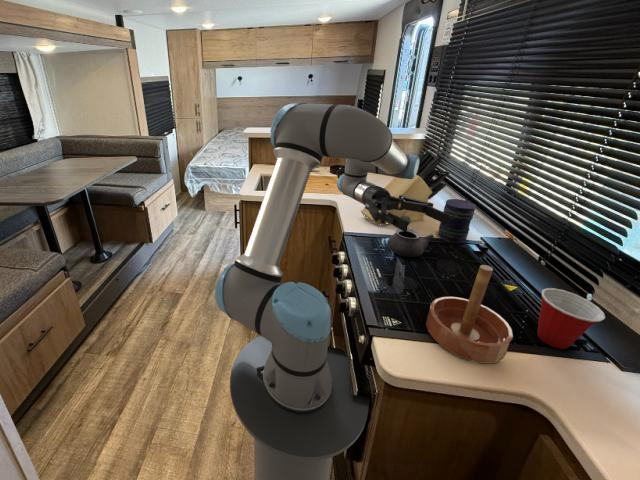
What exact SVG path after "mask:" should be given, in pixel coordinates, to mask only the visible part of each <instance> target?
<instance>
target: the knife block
mask: <svg viewBox="0 0 640 480" xmlns="http://www.w3.org/2000/svg"><path fill="white" fill-rule="evenodd" d="M418 157H419V167H418V171H417V173H416V176H415V177H414V178H413V179H401V178H397V177H393V178H392V179H391V180H390V181H389V182H388V183H387V184H386V186H384V187H383V188H384V189H386V190H388V191H389V193H390V195H391V196H394V197H396V198H399V196H400V195H402V196H405V197H408V198H412V199H416V200H421V201H425V202H429V200H431V199H432V198H434V197H435V196H437V195H438V193H440V192H441V191H442V190H443V189H444V188H446V187H447V183H444V182H443V181H444V180H445V179H446V177H448V176H449V175H450V174H451V172H449V171H448V170H446V171H444V172H442V170H440V169H436V167H437V166H438V165H439V164H440V163H441V162H442V158H440V157H439V156H437V157H435V155H434V154H432V151H431V150H430V149H427V150H425V151H424V152H422V153H421V154H419V156H418ZM437 173H439V174H438V176H437V177H436V178H434V176H436V174H437ZM400 206H401V205H400V204H399V207H400ZM379 212H380V210H379ZM389 212H390V213H392V214H394V215H396V216H398V217H401V216H403V215H406V216H409V217H410V222H414V221H423V220H424V217H425V213H421V212H415V211H410V210H404V209H403V210H395V209H392V210H387V215H388V213H389ZM360 213H361V214H362V216H364V215H365V216H364V217H366V218H367V217H368V218H369V219H368V218H367V219H368V220H369V221H371V220H372V221H371V222H372V223H374V222H375V223H374V224H375V225H377V224H381V225H380V226H386V225H391V224H390V223H388V222H386V221H385V224H382V223H380V221H381V220H378V221H374V220H373V218H372V216H371V214H370V212H369V211H368V210H367V209H365V207H363V208H362V209H361V210H360ZM386 223H388V224H386Z"/></svg>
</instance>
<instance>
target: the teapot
mask: <svg viewBox="0 0 640 480" xmlns="http://www.w3.org/2000/svg"><path fill="white" fill-rule="evenodd" d="M400 218H402V219H404V220H406V221H408V226H409V225H410V224H411V221H410V217H409V216H406V215H403V216H401V217H400ZM433 238H435V235H434V234H433V233H429V234H427V235H425V236H421V234H420V233H419V232H417V231H416V230H414V229H411V228H407V231H405V232H404V231H402V230H400V229H399V228H397V229H396V230H395V232H394V233H393V234H392V235H391V236H389V238H388V240H387V242H386V247H387V249H388V250H389V251H390V252H392V253H393V254H396V255H398V256H402V257H407V258H417V257H420V256H422V255H423V253H424V251H425V250H426V249H427V247H428V245H429V243H430V241H432V239H433Z"/></svg>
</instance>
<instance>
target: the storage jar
mask: <svg viewBox="0 0 640 480" xmlns="http://www.w3.org/2000/svg"><path fill="white" fill-rule="evenodd" d="M476 207H477V206H476V204H475V203H473V202H471V201H469V200H465V199H459V198H450V199H447V200H446V201H445V204H444V207H443V211H442V212H445V213H447V214H449V217H448V221H447V224H444V223H442V222H439V226H438V232H437V236H438V238H440V239H441V240H443V241H446V242H448V243H451V244H452V243H453V244H463V243H465V242H466V241H467V238H468V235H469V231H470V224H471V222H472V220H473V218H474V215H475V211H476Z"/></svg>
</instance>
